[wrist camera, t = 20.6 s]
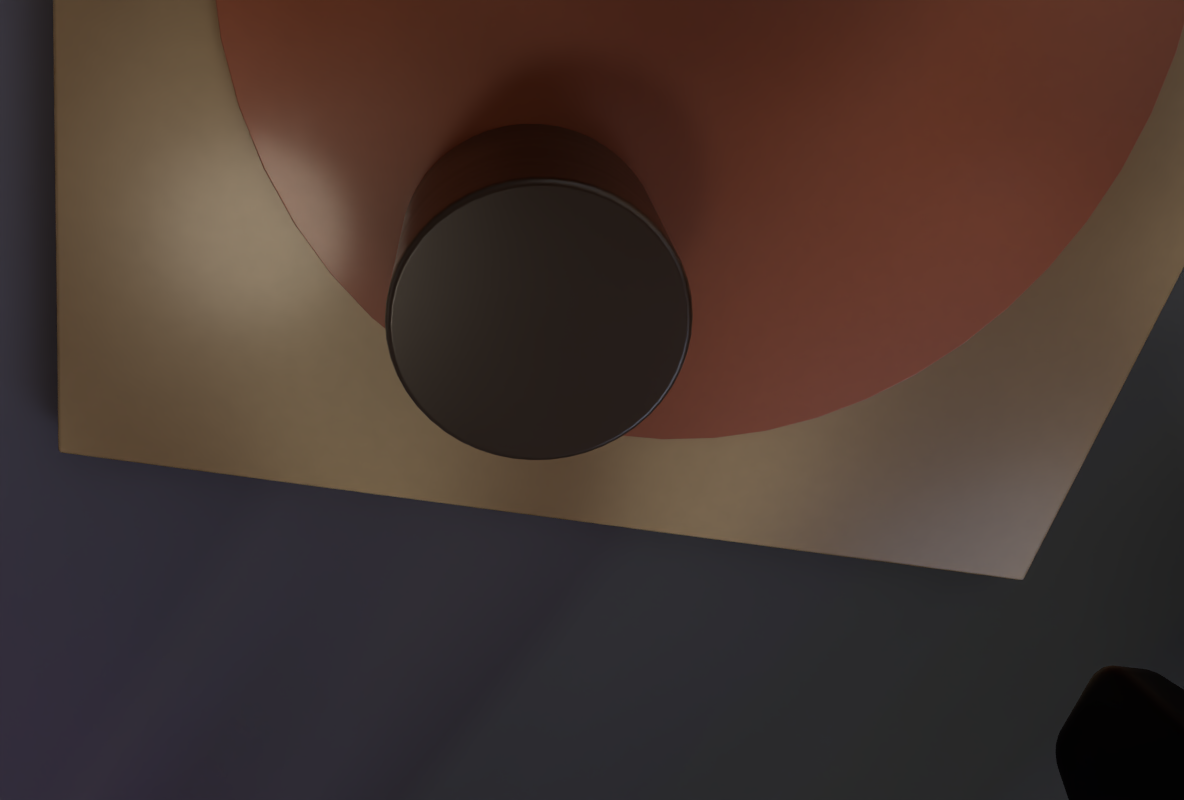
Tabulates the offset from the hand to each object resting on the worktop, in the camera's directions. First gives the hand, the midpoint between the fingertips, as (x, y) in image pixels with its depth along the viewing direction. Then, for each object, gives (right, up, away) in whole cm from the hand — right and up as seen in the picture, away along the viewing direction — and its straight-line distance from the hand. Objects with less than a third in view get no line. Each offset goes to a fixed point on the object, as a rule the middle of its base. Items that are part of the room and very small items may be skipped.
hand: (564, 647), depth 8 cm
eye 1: (-1, +4, +8) cm, 9 cm away
